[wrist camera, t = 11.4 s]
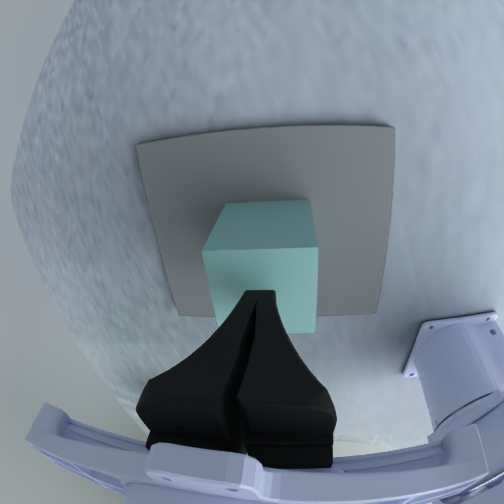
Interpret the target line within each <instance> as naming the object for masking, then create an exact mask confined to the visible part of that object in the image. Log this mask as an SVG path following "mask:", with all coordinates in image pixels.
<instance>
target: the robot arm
mask: <svg viewBox="0 0 504 504" xmlns="http://www.w3.org/2000/svg"><path fill="white" fill-rule="evenodd" d="M497 317H498V314H497V312H491V313H485V314H479V315H472V316H466V317H459V318H451V319H444V320H435V321H427V322H424V323H423V324H422V325H421V327H420V330H419V333H418V336H417V339H416V341H415V344H414V347H413V349H412V352H411V354H410V357H409V359H408V362H407V364H406V367H405V369H404V371H403V377H404V378H409V377H416V376H419V378H420V382H421V385H422V388H423V392H424V395H425V399H426V403H427V406H428V410H429V414H430V418H431V422H432V426H433V430H434V432H433V433H432V434H430V435H429V436H428V442H429V443H428V444H424V445H419V446H415V447H410V448H405V449H399V450H394V451H388V452H382V453H375V454H367V455H358V456H348V457H336V458H333V446H332V445H333V432H334V429H335V426H336V422H337V416H336V411H335V408H334V405H333V402H332V400H331V397H330V395H329V393H328V391H327V389H326V388H325V387H324V386H323V385H322V384H321V383H320V382H319V381H318V380H317V379H316V377H315V376H314V375H313V374H312V373H311V371H310V370H309V369H308V367H307V366H306V365H305V363H304V362H303V361H302V359H301V358H300V356H299V355H298V353H297V351H296V350H295V348H294V346H293V345H292V343H291V341H290V339H289V337H288V335H287V333H286V330H285V328H284V326H283V323H282V320H281V318H280V315H279V312H278V308H277V303H276V292H275V291H274V290H246V291H245V292H244V293H243V295H242V296H241V298H240V300H239V301H238V303H237V304H236V306H235V307H234V309H233V310H232V311H231V313H230V314H229V315H228V317H227V318H226V319H225V321H224V322H223V323H222V324H221V325H220V327H219V328H218V329H217V330H216V331H215V332H214V334H213V335H212V336H211V337H210V338H209V339H208V340H207V341H206V342H205V343H204V344H203V345H202V346H200V347H199V348H198V349H197V350H196V351H195V352H193V353H192V354H191V355H190V356H188V357H187V358H186V359H184V360H183V361H182V362H180V363H179V364H177V365H176V366H174V367H172V368H171V369H169V370H167V371H166V372H164V373H162V374H160V375H158V376H156V377H154V378H152V379H150V380H149V381H148V383H147V384H146V386H145V388H144V390H143V392H142V394H141V397H140V399H139V401H138V404H137V406H136V412H137V414H138V415H139V417H140V419H141V420H142V421H143V422H144V424H145V425H146V426H147V427H148V429H149V430H150V433H149V436H148V439H147V442H144V441H140V440H136V439H132V438H128V437H124V436H121V435H117V434H114V433H111V432H107V431H104V430H101V429H98V428H94V427H92V426H89V425H86V424H83V423H80V422H78V421H75V420H72V419H70V417H69V416H68V415H67V414H66V413H65V412H64V411H63V410H61V409H59V408H57V407H55V406H52V405H50V404H48V403H44V404H43V406H42V408H41V410H40V411H39V413H38V415H37V417H36V419H35V421H34V423H33V424H32V426H31V428H30V430H29V432H28V434H27V436H26V438H25V440H26V442H28V443H29V444H30V445H32V447H34V448H35V449H36V450H37V451H39V452H40V453H41V454H43V455H44V456H45V457H47V458H48V459H49V460H51V461H52V462H53V463H55V464H57V465H59V466H61V467H63V468H65V469H67V470H69V471H71V472H73V473H75V474H77V475H79V476H81V477H83V478H85V479H87V480H89V481H92V482H94V483H96V484H98V485H100V486H102V487H105V488H107V489H110V490H112V491H114V492H117V493H119V494H122V495H124V498H123V501H122V504H427V503H430V502H432V503H433V504H504V474H503V475H501V476H500V477H498V478H496V479H494V480H493V481H491V482H489V483H487V484H485V485H483V486H481V487H479V488H478V489H475V490H472V491H469V490H471V489H473V488H475V487H477V486H479V485H481V484H483V483H485V482H487V481H489V480H490V479H492V478H494V477H496V476H498V475H499V474H501V473H503V472H504V335H503V333H502V332H501V330H500V328H499V327H498V325H497V323H496V320H497ZM247 454H248V456H247Z"/></svg>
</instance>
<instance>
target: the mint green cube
mask: <svg viewBox="0 0 504 504" xmlns="http://www.w3.org/2000/svg"><path fill="white" fill-rule="evenodd" d="M202 256H203V261H204V265H205V270H206V275H207V280H208V284H209V289H210V293H211V298H212V302H213V307H214V311H215V315H216V320H217V324H218V328H219V327H220V325H221V324H222V323H223V322H224V321H225V319H226V318H227V317H228V315H229V314H230V313H231V311H232V310H233V309H234V307H235V306H236V304H237V303H238V301H239V300H240V298H241V296H242V295H243V293H244V292H245V291H246V290H274V291H275V292H276V303H277V308H278V312H279V315H280V318H281V320H282V323H283V326H284V328H285V330H286V333H287V334H290V333H315V328H316V309H317V284H318V243H317V237H316V231H315V226H314V220H313V215H312V210H311V204H310V200H283V201H261V202H242V203H226V204H225V206H224V208H223V210H222V212H221V214H220V216H219V218H218V220H217V222H216V224H215V225H214V227H213V229H212V231H211V233H210V235H209V237H208V239H207V241H206V243H205V245H204V247H203V249H202Z"/></svg>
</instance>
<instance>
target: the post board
mask: <svg viewBox="0 0 504 504" xmlns="http://www.w3.org/2000/svg"><path fill="white" fill-rule="evenodd" d="M136 150H137V155H138V160H139V165H140V170H141V175H142V180H143V184H144V189H145V194H146V198H147V202H148V207H149V211H150V215H151V219H152V223H153V227H154V231H155V235H156V239H157V243H158V246H159V250H160V254H161V257H162V261H163V265H164V268H165V272H166V275H167V279H168V282H169V285H170V289H171V292H172V295H173V298H174V302H175V305H176V308H177V311H178V314H179V316H200V317H216V315H215V311H214V307H213V302H212V298H211V293H210V289H209V284H208V280H207V275H206V270H205V265H204V261H203V256H202V249H203V247H204V245H205V243H206V241H207V239H208V237H209V235H210V233H211V231H212V229H213V227H214V225H215V224H216V222H217V220H218V218H219V216H220V214H221V212H222V210H223V208H224V206H225V204H226V203H242V202H261V201H283V200H310V204H311V210H312V215H313V220H314V226H315V231H316V237H317V243H318V284H317V309H316V316H338V315H357V314H374V313H376V310H377V305H378V300H379V294H380V289H381V283H382V277H383V271H384V265H385V258H386V251H387V244H388V236H389V227H390V218H391V208H392V196H393V182H394V162H395V128H394V127H392V126H378V125H347V124H317V125H286V126H268V127H254V128H243V129H232V130H223V131H214V132H206V133H199V134H192V135H185V136H178V137H172V138H166V139H160V140H155V141H150V142H144V143H140V144H138V145H136Z"/></svg>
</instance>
